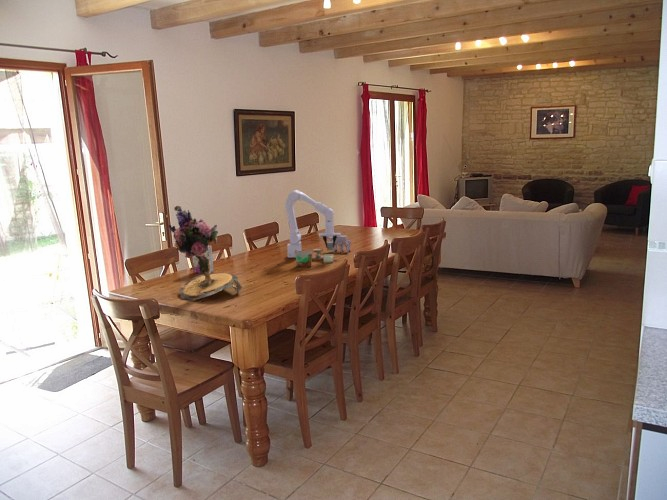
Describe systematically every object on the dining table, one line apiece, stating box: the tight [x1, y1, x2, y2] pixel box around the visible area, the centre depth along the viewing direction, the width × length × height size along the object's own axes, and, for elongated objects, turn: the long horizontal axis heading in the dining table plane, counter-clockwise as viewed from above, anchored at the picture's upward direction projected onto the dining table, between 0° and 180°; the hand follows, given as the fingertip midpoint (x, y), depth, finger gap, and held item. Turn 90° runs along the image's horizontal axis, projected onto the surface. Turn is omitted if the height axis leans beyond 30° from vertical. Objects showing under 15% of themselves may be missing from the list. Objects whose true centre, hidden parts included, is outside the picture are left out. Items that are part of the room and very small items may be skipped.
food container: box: [294, 249, 314, 268], centre depth 329 cm, size 12×6×10 cm, turn 62°
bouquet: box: [168, 205, 243, 302], centre depth 275 cm, size 33×44×45 cm
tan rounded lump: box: [312, 248, 324, 261], centre depth 349 cm, size 8×8×6 cm
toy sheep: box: [327, 231, 352, 254], centre depth 371 cm, size 20×11×14 cm, turn 70°
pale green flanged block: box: [323, 253, 334, 263], centre depth 342 cm, size 6×8×4 cm
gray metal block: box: [326, 241, 333, 251], centre depth 354 cm, size 4×4×5 cm
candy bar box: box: [191, 245, 215, 274], centre depth 321 cm, size 11×5×16 cm, turn 74°
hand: (330, 247), depth 355 cm, fingers closed on gray metal block, 4 cm apart
